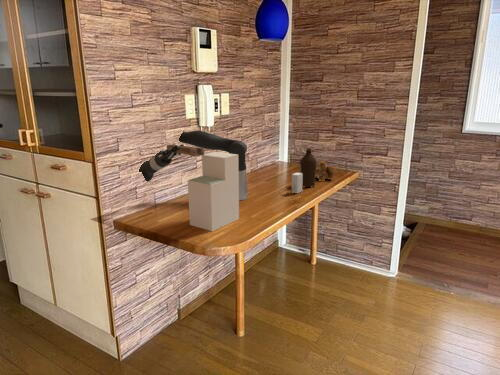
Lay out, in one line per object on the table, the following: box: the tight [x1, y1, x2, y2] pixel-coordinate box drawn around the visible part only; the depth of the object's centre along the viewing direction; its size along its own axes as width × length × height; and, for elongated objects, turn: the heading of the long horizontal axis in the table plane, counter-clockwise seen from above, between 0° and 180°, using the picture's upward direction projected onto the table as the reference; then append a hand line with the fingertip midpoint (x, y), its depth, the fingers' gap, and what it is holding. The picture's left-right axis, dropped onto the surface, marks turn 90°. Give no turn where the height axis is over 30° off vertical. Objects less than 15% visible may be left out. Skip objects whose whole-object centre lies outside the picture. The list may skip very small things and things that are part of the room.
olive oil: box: [299, 147, 318, 188], centre depth 238 cm, size 11×11×25 cm
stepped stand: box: [187, 151, 240, 232], centre depth 174 cm, size 20×14×32 cm
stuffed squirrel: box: [315, 160, 337, 181], centre depth 256 cm, size 10×14×13 cm
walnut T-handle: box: [166, 144, 205, 157], centre depth 173 cm, size 6×20×3 cm, turn 54°
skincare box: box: [291, 172, 303, 194], centre depth 225 cm, size 6×4×12 cm
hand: (180, 146), depth 174 cm, fingers closed on walnut T-handle, 3 cm apart
